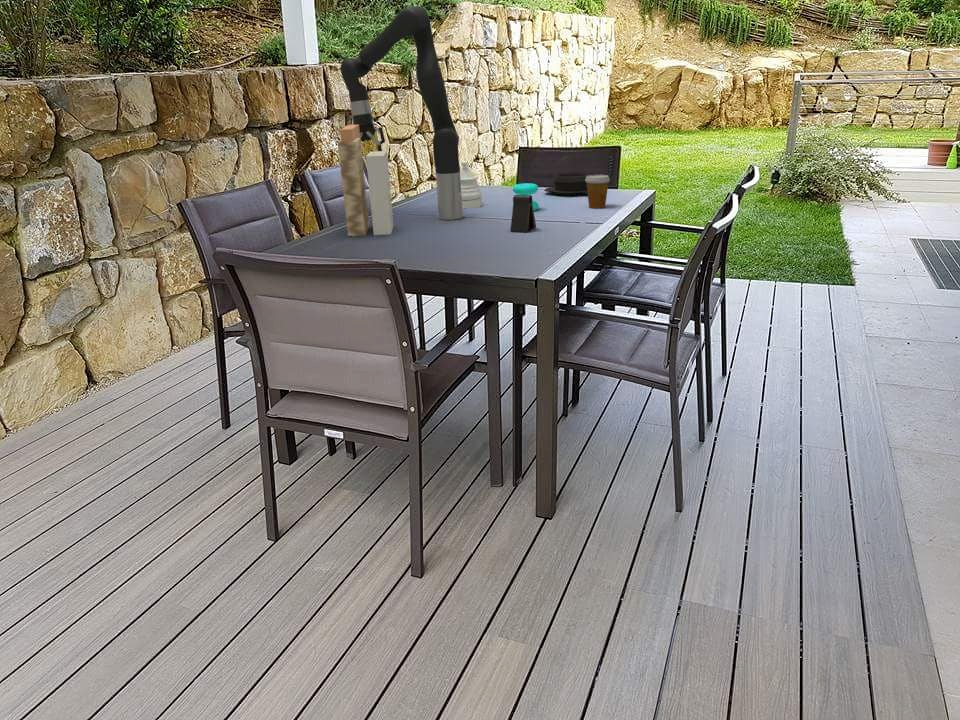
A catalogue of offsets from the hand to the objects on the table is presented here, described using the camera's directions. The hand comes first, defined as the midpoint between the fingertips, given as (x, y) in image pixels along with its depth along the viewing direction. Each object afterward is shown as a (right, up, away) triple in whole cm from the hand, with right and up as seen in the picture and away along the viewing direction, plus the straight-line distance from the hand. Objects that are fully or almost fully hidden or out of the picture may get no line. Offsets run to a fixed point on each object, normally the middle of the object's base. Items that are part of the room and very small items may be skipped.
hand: (369, 157), depth 290 cm
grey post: (+8, -32, -20) cm, 39 cm away
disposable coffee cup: (+90, -19, +4) cm, 92 cm away
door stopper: (+58, -34, -31) cm, 74 cm away
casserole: (+84, -6, +37) cm, 92 cm away
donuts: (+62, -20, +5) cm, 65 cm away
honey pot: (+38, -15, +20) cm, 45 cm away
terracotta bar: (-2, -1, -27) cm, 28 cm away
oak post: (-1, -33, -20) cm, 39 cm away
